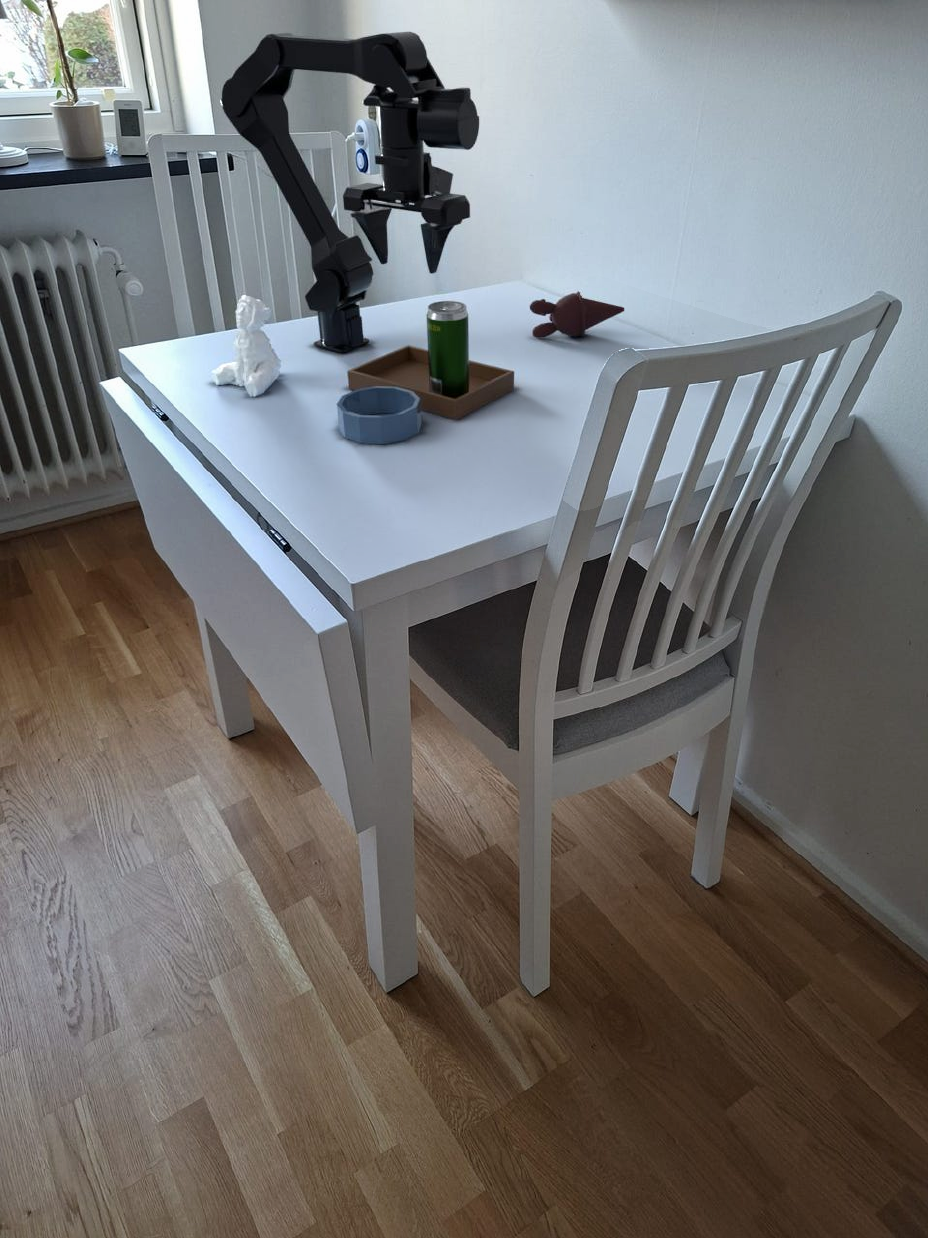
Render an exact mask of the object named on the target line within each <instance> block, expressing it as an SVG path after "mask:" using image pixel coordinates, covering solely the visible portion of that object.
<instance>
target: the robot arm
mask: <svg viewBox="0 0 928 1238" xmlns="http://www.w3.org/2000/svg"><path fill="white" fill-rule="evenodd" d="M295 70H299V71H312V72H323V73H337V74H349V75H352V76H355V77H357V78H359V79H360V80H362V81H363V82H366V83H368V84H372V85H373V87H372V89H371V91H370V92H369V94H367V96H366V97H365V98H364V99H362V103H363V106H365V107H378V108H377V111H378V125H379V126H378V127H379V128H378V129H379V141H380V143H379V144H380V154H377V155H374V162H375V165H381V172H382V173H381V174H382V184H381V183H373V182H366V183H361V184H357V185H352V186H348V187H346V188H345V190H344V192H343V194H342V202H343V210H344V211H350V217H351V218H354V219H355V221H356V223H357V224H358V225H359V227H360V229H361V230H362V232H363V233H364V235H365V237H366V239H367V240H368V243H369V244H370V247H371V248H372V250H373V252H374V253H375V255H376V257H377V259H378V261H379V263H380V265H386V264H388V260H389V259H388V258H389V247H388V246H389V243H388V241H389V240H388V222H389V221H388V220H389V218H390V215H391V213H392V210H393V209H395V210H400V211H406V212H407V211H408V212H414V213H420V215H421V218H423V220H424V223H420V230H421V237H422V241H423V247H424V253H425V254H424V255H425V259H426V260H425V261H426V265H427V268H428V272H429V274H432V275H433V274H435V273H437V271H438V268H439V264H440V262H441V258H442V254H443V251H444V248H445V245H446V242H447V239H448V237H449V235H450V233H451V231H452V230H453V229H454V227H455V226H458V225H461V224H462V222H463V220H466V219H469V218H471V203H470V201H469V200H468V198H467V196H466V194H458V193H451V191H452V184H453V178H454V173H453V172H451V171H448V170H445V169H444V168H440V167H437V166H434V165H433V164H432V163H433V162H432V156H431V153H430V152H425V150H424V145H425V146H427V148H433V149H446V150H447V149H449V150H465V151H470V150H471V149H472V148H474V146H475V144H476V142H477V140H478V137H479V132H480V116H479V115H478V110H477V106H476V104H475V102H474V101H473V100H472V97H471V88H470V87H458V88H457V87H456V88H445V85H444V84H443V82H442V80H441V79H440V77H439V75H438V73H437V71H436V70H435V68H434V66H433V65H432V63H431V62H430V59H429V58H428V53H427V49H426V46H425V44H424V41H422V39H421V37H420V35H418V34H417V33H415V32H413V31H400V32H397V31H396V32H387V33H385V32H384V33H379V34H374V35H367V36H363V37H358V38H343V37H342V38H340V37H339V38H338V37H324V36H309V35H308V36H307V35H294V34H292V33H289V32H280V33H269V34H266V35H265V36H264V37H263V38H261V40H260V42H258V45H257V47H256V49H255V50H254V51H253V52H252V54H251V55H249V56H248V57H247V58H246V59H245V60H244V61H243V62H242V63H241V64H240V65H239V66H238V67H236V70H235V71H234V73H233V75H232V76H231V77H230V78H228V79H227V80H226V81H225V82H224V84H223V86H222V90H221V99H220V105H221V108H222V110H223V113H224V115H225V116H226V117H227V119H228V120H229V122H230V124H231V125H232V126H233V127H234V129H235V130H236V132H237V133H238V134H239V135H240V136H241V137H242V138H243V139H244V140H245V141H247V142H248V143H249V144H250V145H252V146H253V147H254V148H255V149H257V150H258V151H259V153H260V154H261V157H262V159H263V160H264V162H265V164H266V166H267V168H268V170H269V172H270V173H271V175H272V177H273V179H274V180H275V183H276V184H277V187H278V188H279V190H280V192H281V194H282V195H283V197H284V199H285V202H286V203H287V205H288V207H289V209H290V210H291V213H292V214H293V216H294V218H295V220H296V221H297V224H298V225H299V227H300V229H301V231H302V233H303V235H304V236H305V238H306V240H307V242H308V244H309V247H310V257H311V261H310V262H311V270H312V272H313V275H314V276H315V280H316V281H315V283H313V285H312V286H311V287H310V289H309V290H308V291H307V293H306V294H305V295H304V299H305V301H306V304H307V307H308V309H309V311H313V312H317V313H316V314H317V322H318V323H317V324H318V331H319V338H320V339H318V340H316V341H314V342H312V343H313V346H314V347H317V348H321V349H324V350H328V351H333V352H336V353H340V354H343V353H347V352H349V351H351V350H354V349H357V348H359V347H362V346H364V345H366V344H369V343H370V339H369V338H366V337H364V330H363V318H362V316H361V310H360V309H361V308H360V305H359V304H357V303H358V302H360V301H364V300H366V297H367V292H368V289H370V287H371V285H372V283H373V276H374V270H373V267H372V263H371V262H372V261H373V258H372V257H371V256H370V255H369V254H368V252H367V250H366V249H365V246H364V243H363V241H362V239H361V237H360V236H359V235H357V234H355V235H353V236H348V235H346V234H345V233H344V232H343V231H342V230H341V229H340V227H339V226H338V224H337V223H336V220H335V218H334V217H333V215H332V213H331V211H330V209H329V207H328V205H327V203H326V202H325V200H324V197H323V196H322V194H321V192H320V190H319V188H318V186H317V185H316V182H315V180H314V179H313V177H312V175H311V172H310V171H309V169H308V167H307V165H306V163H305V162H304V159H303V157H302V156H301V153H300V152H299V150H298V148H297V146H296V144H295V142H294V140H293V138H292V136H291V134H290V123H289V119H290V118H289V110H288V107H287V104H286V101H285V100H284V99H285V97H286V95H287V94H288V92H289V91H290V89H291V88H292V84H293V79H294V74H295ZM389 89H390V90H389ZM416 99H417V100H416ZM427 196H428V197H427Z"/></svg>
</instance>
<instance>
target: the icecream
mask: <svg viewBox="0 0 928 1238" xmlns="http://www.w3.org/2000/svg"><path fill="white" fill-rule="evenodd" d="M529 310H530V311H531V312H532V314H535V315H537V316H543V317H546V316H547V315H549V321H548V322H543V323H540V324H538V325H536V326H534V328H532V331H531V333H532V336H533V337H534V338H537V339H541V338H547V337H549V336H551V335H553V334H555V333H556V332H557V331H558V332H559V333H560V334H563V335H566V336H568V337H574V338H575V337H576V338H577V337H583V338H584V336H585V333H586V330H589V329H590V328H593V327H594V326H596V325H599V324H601V323H603V322H605V321H607V320H609V319H611V318H613V317H616V316H617V315H619V314H621V313H623V312H625V307H624V306H620V305H615V304H611V303H606V302H603V301H599V300H594V299H589V298H585V297H583V295H581V292H580V291H579V290H578V291H577V292H571V293H569V294H567V295H564V296H563V297H561V298H560V299H558V300H557V302H556V303H553V302H550V301H546V299H545V298H542V299H535V300H533V301H532V302H531V303H530V304H529Z"/></svg>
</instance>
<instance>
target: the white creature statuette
mask: <svg viewBox="0 0 928 1238" xmlns="http://www.w3.org/2000/svg"><path fill="white" fill-rule="evenodd" d="M234 313H235V319H236V320H235V323H236V328H237V331H236V335H235V337H236V338H235V340H234V342H233V343H232V345H233V347H234V349H235V351H236V353H235V355H236V360H235V362H230V363H225V364H222V365H220V366H218V368H216V369H215V370H212V371H211V375H212V379H213V381H214V383H215V385H216V386H220V385H221V386H224V385H228V384H230V385H234V386H237V387H238V386H239V387H244V388H245V389H246V393H247V394H248V395H249V397H254V398H255V397H257V396H260V395H262V394H265V391H267V389H268V388H269V387H271V385H272V384H274V382H275V381H276V380H277V379H278V378H279V376H280V374H281V371H280V370H281V367H282V364H281V363H282V360H281V359H280V358H279V356H278V354H277V353H276V352H275V349H274V348H273V346H272V344H271V339H270V338H269V337H268V335H267V334H266V332H265V331H264V330H263V329H261V328H263V327H264V326H265V324H266V321H267V320H268V319H269V318H270V317H271V315H272V308H271V307H267V305H265V304H264V302H263V301H262V300H261V299H256V298H255V297H253V296H251V295H250V296H249V295H242V296H240V298H239V300H238V301H237V304H236V309H235V312H234Z"/></svg>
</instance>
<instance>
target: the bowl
mask: <svg viewBox="0 0 928 1238" xmlns="http://www.w3.org/2000/svg"><path fill="white" fill-rule="evenodd" d="M336 410H337V420H338V430H339V432H340V433H341V434H342V435H343V437H344V438H345V439H347V440H350V441H353V442H356V443H359V444H365V445H367V444H368V445H387V444H392V443H398V442H403V441H405V440H407V439H409V438H412V437H413V436H415V435H417V434H418V433H419V432H420V429H421V427H422V410H421V403H420V398H419V397H418V396H417V395H416V394H415V393H414V392H413V391H410V390H406V389H403V388H399V387H387V386H374V387H368V388H362V389H357V390H352V391H350V392H347V393H345V394H343V395H342V396H341V397H340V398H339V400H338V401H337V403H336ZM376 414H384V415H376Z"/></svg>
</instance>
